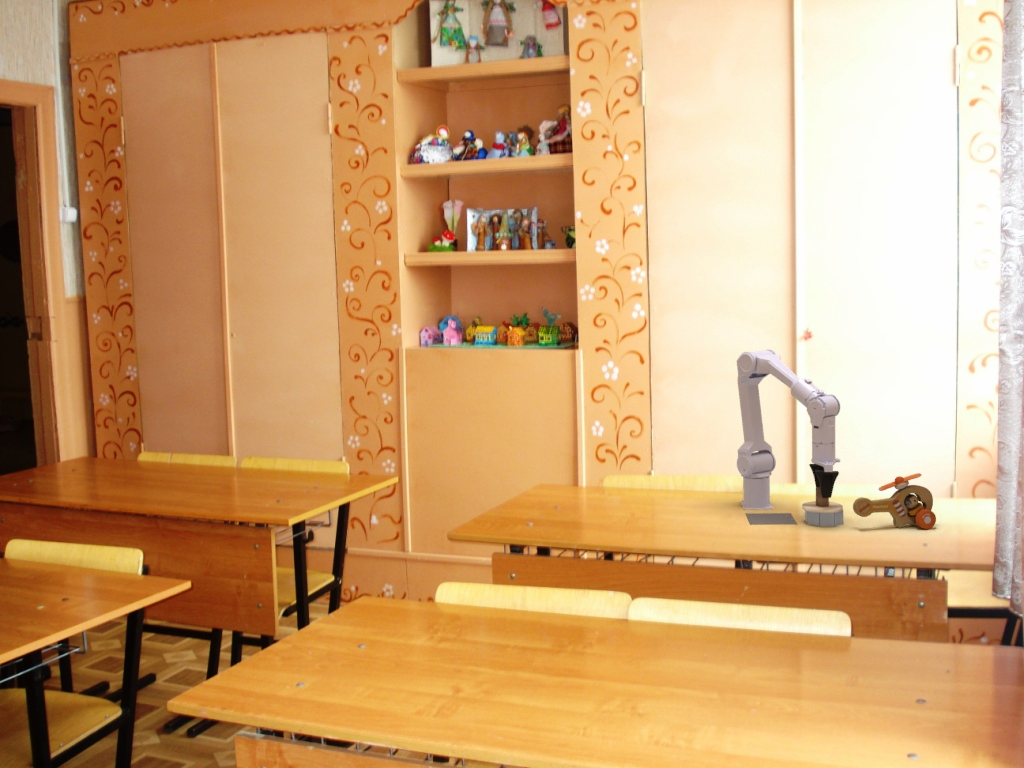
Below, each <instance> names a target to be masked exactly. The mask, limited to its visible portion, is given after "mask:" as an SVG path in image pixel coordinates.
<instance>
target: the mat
mask: <svg viewBox="0 0 1024 768" xmlns="http://www.w3.org/2000/svg"><path fill="white" fill-rule="evenodd" d="M745 517H746V518H747V521H748V524H749V525H751V526H752V525H754V526H755V525H756V526H757V525H761V526H762V525H765V526H766V525H778V526H779V525H798V523H797V521H796V519H795V518H794V515H792V513H791V512H784V513H783V512H779V513H777V512H775V513H773V512H771V513H770V512H766V513H764V512H763V513H761V512H757V513H755V512H754V513H753V512H751V513H750V512H749V513H745Z"/></svg>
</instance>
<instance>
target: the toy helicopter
mask: <svg viewBox="0 0 1024 768" xmlns="http://www.w3.org/2000/svg"><path fill="white" fill-rule="evenodd" d="M921 476H922V473H914V474H913V473H912V474H911V475H907V476H905V477H903V476H896V477H895V479H894V481H892V482H889V483H887V484H884V485H882V486H880V487H878V491H881V492H883V491H885V490H888V489H890V488H895V489H896V491H895V492H894V493H893V494H892V495H891V496H890V497H888V498H880V499H873V500H871V499H870V498H867V497H863V496H862V497H861V496H860V497H858V498H857V499H855V500H854V502H853V504H852V509H853V511H854V514H856V515H857V516H859V517H861V518H867V517H869V516H871V515H872V514H874V513H876V514H877V513H889V515H890V516H891V517H892V524H893V526H895V527H897V528H899V529H901V528H903V527H904V526H906V525H916V526H918V527H920V528H921V529H924V530H930V529H932V528H933V527H934V526H935V525H936V521H937V516H936V513H935V512H934V511H932V510H933V505H934V499H933V498H934V497H933V493H932V492H931V491H930V490H929V489H928V488H927V487H925V486H922V485H918V484H910V482H909V481H910V480H915V479H917V478H918V479H919V478H921Z"/></svg>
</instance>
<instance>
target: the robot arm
mask: <svg viewBox="0 0 1024 768" xmlns="http://www.w3.org/2000/svg"><path fill="white" fill-rule="evenodd" d="M736 366H737V388H738V397H739V398H738V399H739V405H740V406H739V407H740V415H741V424H742V425H741V426H742V431H743V432H742V433H743V440H744V442H743V444H742V445H741V446H739V448H738V449H737V458H736V468H737V470H738V472H739V474H740V477H742V479H743V480H742V486H743V487H742V488H743V494H742V495H743V496H742V497H743V500H740V501H739V502H740V504H741V507H742V509H743V510H773V509H774V507H773V506H772V503H771V499H770V498H771V495H770V494H771V492H770V491H771V490H770V488H771V487H770V486H771V483H770V479H771V478H770V476H772V472H773V471H774V470H775V468H776V463H777V461H776V457H775V455H774V453H773V447H772V445H770V443H768V442H767V441H766V440H765V435H764V434H765V433H764V425H763V417H762V407H761V400H760V392H759V391H760V390H759V384H760V383H761V382H762V381H763V379H765V378H766V377H768V376H769V375H772V376H773V377H775V378H776V379H778V381H780V382H782V383H783V385H785V386H787V387H788V388H790V394H791V396H792V397H793V398H794V399H796V400H797V401H798V402H799V403H800V404H802V405H803V406H804V407H805V408H806V412H807V415H808V416H809V419H810V422H809V423H810V424H811V460H810V461H811V463H810V464H808V466H809V467H810V469H811V472H812V475H813V478H814V483H815V488H816V487H820V489H821V495H822V498H829V499H831V498H832V495H833V491H834V488H835V487H834V485H835V483H836V480H837V479H838V476H839V475H840V471H839V470H834V466H835V464H837V463H841V459H840V458H836V416H838V415H839V414H840V410H841V403H840V401H839V399H838V398H837V396H835V395H834V394H827V393H825V391H823V390H822V389H820V388H819V387H817V386H816V385H815V384H813V380H812V379H811V378H806V377H803V378H800V377H798V376H797V374H795V373H794V371H792V370H791V369H790V368H789V367H788V366H787V365H786V364H785V363H784V362H783V361H782V360H781V356H780V355H779V354H777V353H776V352H775V350H773V349H766V350H755V351H744V352H742V353H741V354H740V355H739V356H738V358H737V359H736Z"/></svg>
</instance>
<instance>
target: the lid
mask: <svg viewBox="0 0 1024 768" xmlns="http://www.w3.org/2000/svg"><path fill="white" fill-rule="evenodd" d="M829 499H830V498H822V495H821V489H820V487H816V486H815V500H813V501H806V502H804V503H802V505H801V508H802V510H804V512H805V511H809V512H815V513H835V512H840V511H842V510H843V511H844V508H843V507H844V506H843V505H842V504H841V503H837V502H834V501H830V500H829Z"/></svg>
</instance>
